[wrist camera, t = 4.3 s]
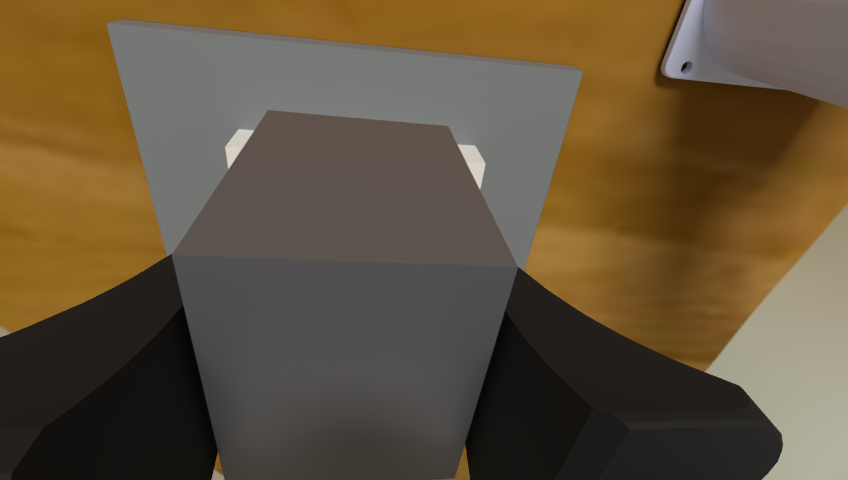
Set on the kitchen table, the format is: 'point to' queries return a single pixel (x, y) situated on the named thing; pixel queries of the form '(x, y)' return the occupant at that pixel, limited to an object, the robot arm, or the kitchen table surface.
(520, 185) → the socket
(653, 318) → the kitchen table surface
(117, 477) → the robot arm
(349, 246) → the plug
